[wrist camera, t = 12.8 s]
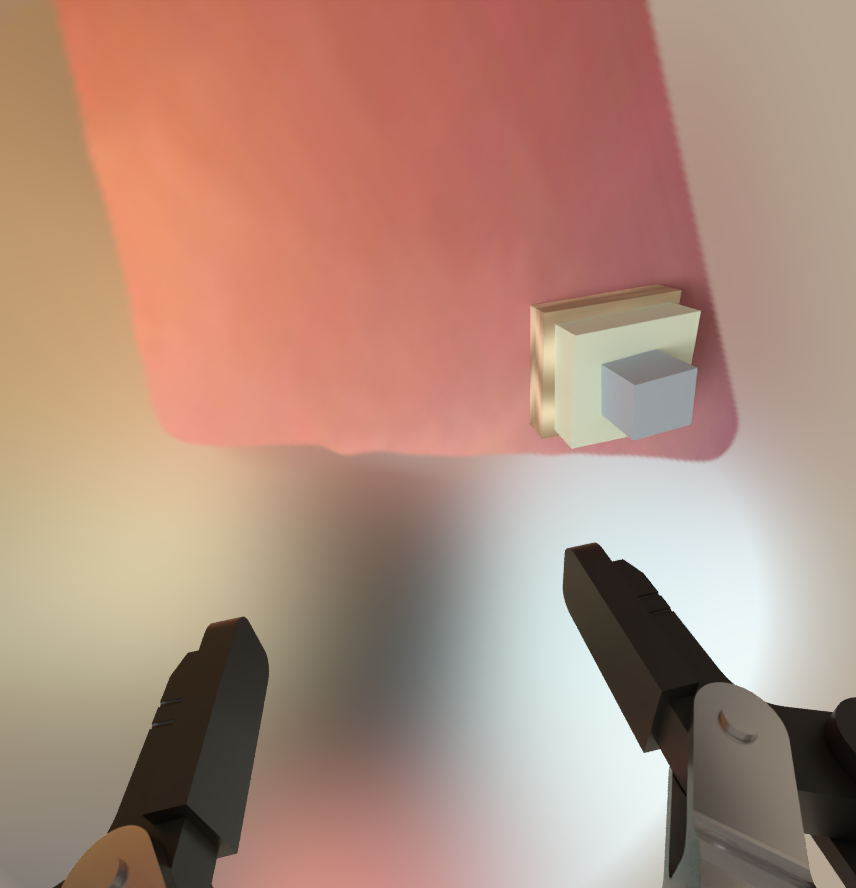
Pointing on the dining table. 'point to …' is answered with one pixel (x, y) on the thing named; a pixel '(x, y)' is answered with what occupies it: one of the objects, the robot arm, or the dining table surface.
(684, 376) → the slate cube
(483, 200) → the dining table surface
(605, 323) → the top block
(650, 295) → the base block
